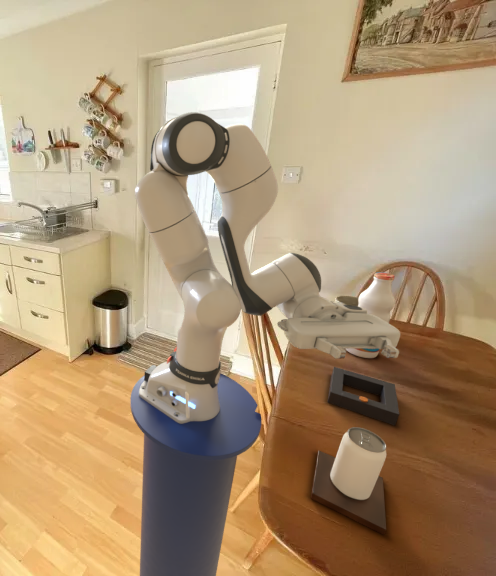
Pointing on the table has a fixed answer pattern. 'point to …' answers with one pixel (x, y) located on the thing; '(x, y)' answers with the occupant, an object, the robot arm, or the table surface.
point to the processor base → (362, 405)
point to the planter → (347, 300)
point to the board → (358, 510)
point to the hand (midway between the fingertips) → (367, 355)
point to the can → (358, 463)
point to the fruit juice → (376, 306)
